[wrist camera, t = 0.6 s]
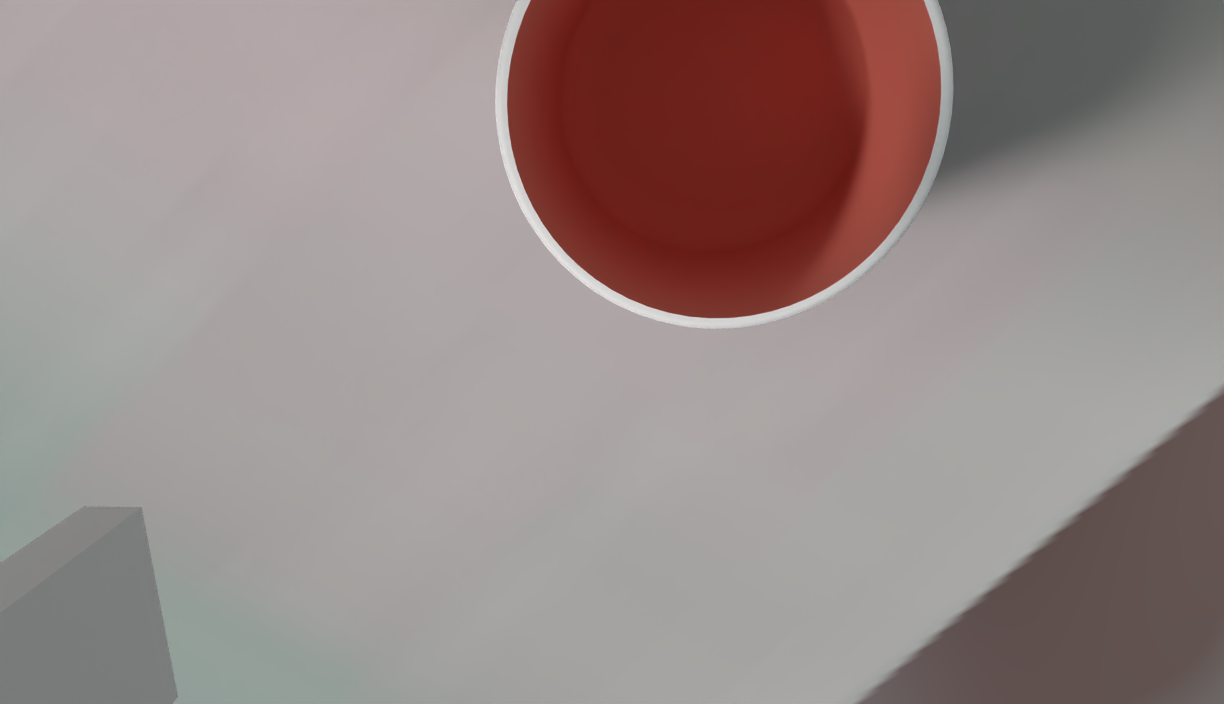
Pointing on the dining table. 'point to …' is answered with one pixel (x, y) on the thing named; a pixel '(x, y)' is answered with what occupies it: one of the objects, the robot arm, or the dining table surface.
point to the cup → (722, 145)
